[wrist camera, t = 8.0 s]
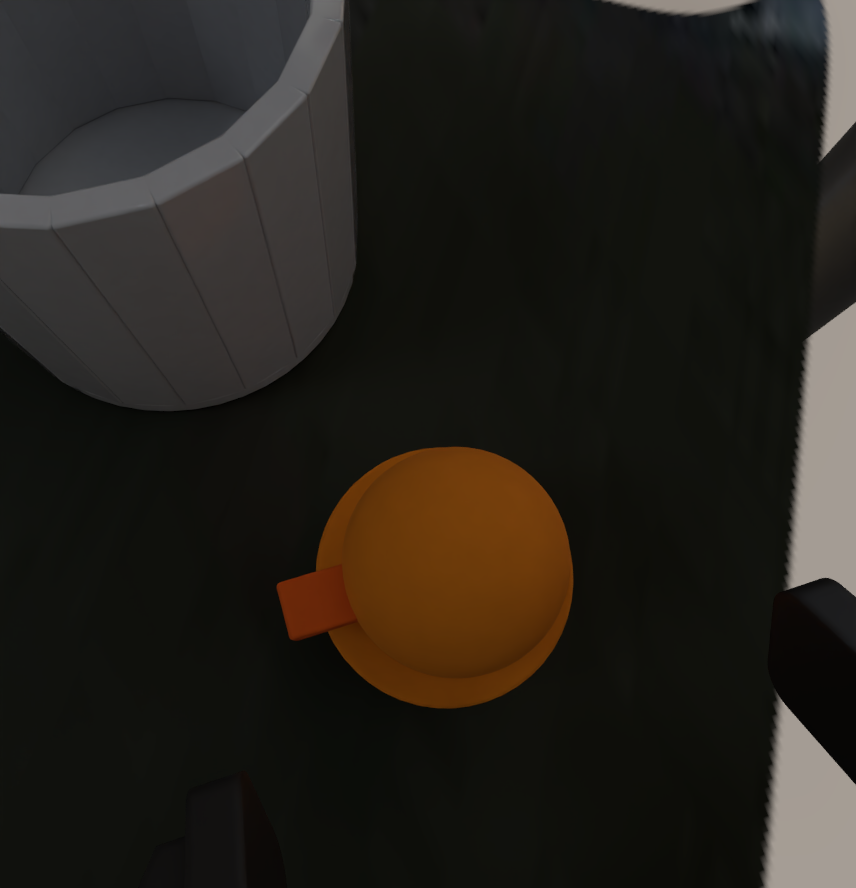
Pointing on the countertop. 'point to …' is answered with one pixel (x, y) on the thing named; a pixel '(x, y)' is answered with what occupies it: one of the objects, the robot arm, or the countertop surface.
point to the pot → (174, 191)
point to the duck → (439, 578)
